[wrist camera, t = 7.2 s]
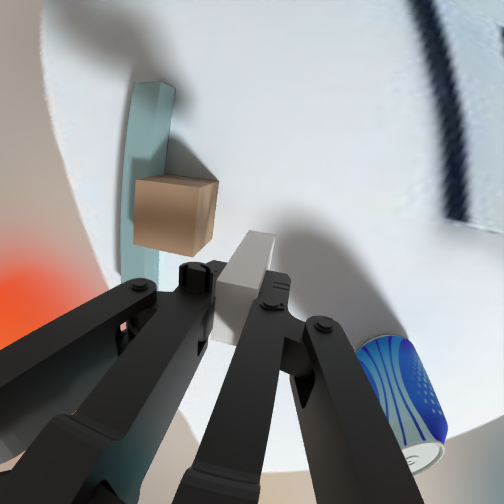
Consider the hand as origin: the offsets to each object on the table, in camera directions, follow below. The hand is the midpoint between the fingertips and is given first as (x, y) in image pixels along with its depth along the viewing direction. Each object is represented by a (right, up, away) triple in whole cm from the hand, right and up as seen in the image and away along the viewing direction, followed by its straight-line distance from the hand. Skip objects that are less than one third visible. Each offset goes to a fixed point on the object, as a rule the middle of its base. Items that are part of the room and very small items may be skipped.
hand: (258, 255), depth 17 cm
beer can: (+15, -13, +16) cm, 25 cm away
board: (-11, +6, +14) cm, 19 cm away
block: (-7, +5, +13) cm, 16 cm away
